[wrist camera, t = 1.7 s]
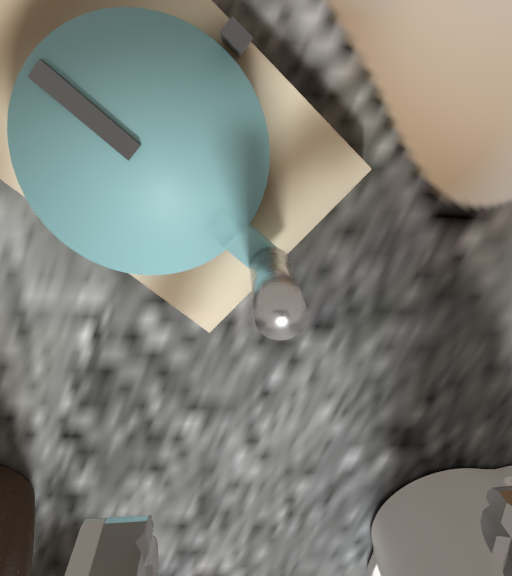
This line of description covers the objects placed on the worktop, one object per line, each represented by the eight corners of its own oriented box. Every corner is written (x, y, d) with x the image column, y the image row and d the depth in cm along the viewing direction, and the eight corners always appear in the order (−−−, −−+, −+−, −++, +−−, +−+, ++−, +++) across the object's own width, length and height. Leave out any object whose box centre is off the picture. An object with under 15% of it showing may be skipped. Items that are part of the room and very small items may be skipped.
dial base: (362, 163, 27) (395, 183, 22) (210, 318, 31) (206, 367, 26) (84, -129, 21) (33, -204, 15) (-61, 114, 25) (-143, 123, 19)
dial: (359, 188, 26) (410, 230, 18) (213, 334, 29) (208, 417, 22) (119, -56, 20) (57, -133, 13) (-22, 160, 24) (-133, 194, 17)
